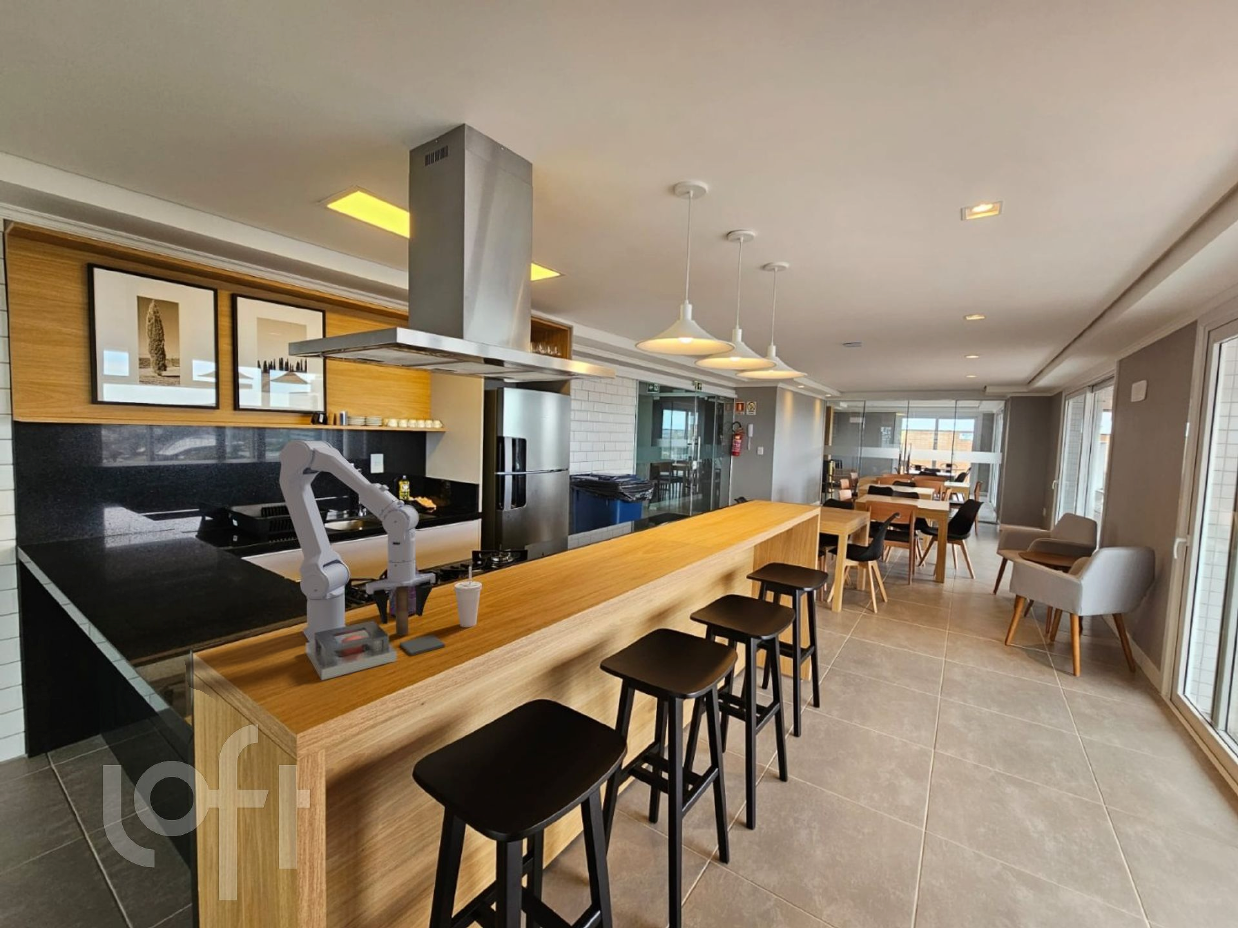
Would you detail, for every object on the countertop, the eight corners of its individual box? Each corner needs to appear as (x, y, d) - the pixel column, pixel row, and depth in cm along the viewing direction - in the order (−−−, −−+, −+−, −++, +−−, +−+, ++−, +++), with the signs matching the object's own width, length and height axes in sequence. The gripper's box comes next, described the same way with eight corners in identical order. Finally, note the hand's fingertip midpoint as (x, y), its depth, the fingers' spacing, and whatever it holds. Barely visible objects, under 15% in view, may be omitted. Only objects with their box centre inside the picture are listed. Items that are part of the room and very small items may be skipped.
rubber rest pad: (400, 645, 106) (400, 642, 106) (432, 637, 111) (432, 634, 111) (411, 655, 101) (411, 652, 101) (445, 646, 106) (444, 644, 106)
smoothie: (473, 630, 115) (473, 570, 115) (448, 628, 117) (448, 569, 116) (486, 620, 122) (486, 564, 121) (462, 618, 123) (462, 562, 122)
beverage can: (391, 610, 129) (390, 564, 129) (420, 607, 131) (420, 562, 131) (387, 619, 122) (386, 571, 122) (418, 616, 124) (417, 569, 124)
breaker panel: (305, 652, 102) (305, 629, 102) (373, 637, 111) (373, 615, 111) (322, 680, 90) (321, 654, 90) (396, 660, 99) (396, 636, 99)
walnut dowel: (394, 633, 113) (394, 585, 113) (406, 630, 115) (405, 583, 114) (398, 636, 111) (397, 588, 111) (410, 634, 113) (409, 586, 112)
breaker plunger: (340, 651, 99) (339, 638, 99) (359, 646, 102) (359, 634, 102) (344, 656, 97) (344, 644, 97) (364, 652, 99) (364, 639, 99)
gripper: (372, 568, 105) (372, 631, 105) (440, 558, 114) (440, 616, 115) (363, 562, 110) (363, 622, 110) (428, 553, 119) (429, 608, 120)
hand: (402, 618), depth 113 cm, fingers open, 7 cm apart
